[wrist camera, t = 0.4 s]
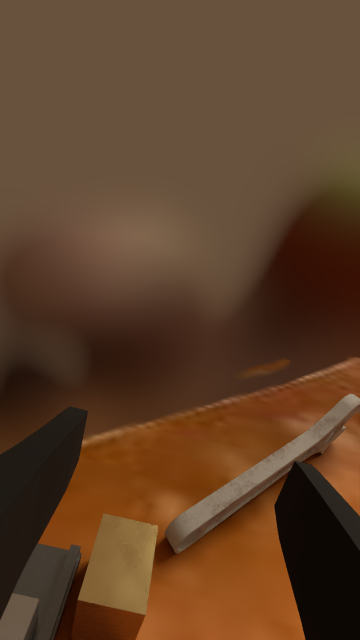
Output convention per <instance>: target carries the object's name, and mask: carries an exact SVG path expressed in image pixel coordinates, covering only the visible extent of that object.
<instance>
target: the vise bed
mask: <svg viewBox="0 0 360 640" xmlns="http://www.w3.org/2000/svg"><path fill="white" fill-rule="evenodd" d="M80 547H81V546H76V545H71V547H70V550H65V549H60V548H56V547H51V546H47V545H42V544H38V543H37V545H36V547H35V549H34V551H33V552H32V554H31V556H30V558H29V560H28V562H27V564H26V566H25V568H24V570H23V572H22V574H21V576H20V578H19V580H18V582H17V584H16V586H15V589H14V591H13V593H14V594H19V595H23V596H28V597H32V598H37V599H39V612H38V625H37V628H36V631H35V633H34V636H33V639H32V640H55V637H56V634H57V631H58V628H59V625H60V622H61V619H62V616H63V613H64V609H65V606H66V603H67V600H68V597H69V594H70V591H71V588H72V585H73V582H74V579H75V576H76V573H77V570H78V566H79V563H80V559H81V553H80Z"/></svg>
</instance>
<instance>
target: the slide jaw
mask: <svg viewBox="0 0 360 640" xmlns="http://www.w3.org/2000/svg"><path fill="white" fill-rule="evenodd" d="M38 612H39V599H37V598H32V597H28V596H23V595H19V594H14V593H12V595H11V598H10V600H9V602H8V604H7V607H6V609H5V611H4V613H3V616H2V618H1V620H0V640H32V639H33V636H34V633H35V631H36V628H37V625H38Z"/></svg>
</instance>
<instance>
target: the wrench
mask: <svg viewBox="0 0 360 640" xmlns="http://www.w3.org/2000/svg"><path fill="white" fill-rule="evenodd" d="M358 412H360V399H359V398H358V397H356V396H355V395H354V394H349V395H347V396H346V397H344V398H343V399H342V400H341V401H340V402H339V403H338V404H336V405H335V406H334V407H333V408H332V409H331V410H330V411H329V412H328V413H327V414H326V415H325V416H324V417H322V418H321V419H320V420H319V421H318V422H317V423H315V424H314V425H313V426H312V427H311V428H310V429H308V430H307V431H306V432H305V433H303V434H302V435H300V436H299V437H297V438H296V439H294V440H293V441H291V442H289V443H288V444H286V445H285V446H283V447H282V448H280V449H279V450H277V451H276V452H274V453H273V454H271V455H270V456H268V457H267V458H265V459H264V460H262V461H261V462H259V463H258V464H256V465H255V466H253V467H252V468H250V469H249V470H247V471H246V472H244V473H242V474H241V475H239V476H238V477H236V478H235V479H233V480H232V481H230V482H229V483H227V484H226V485H224V486H223V487H221V488H220V489H218V490H217V491H215V492H214V493H212V494H211V495H209V496H208V497H206V498H205V499H203V500H202V501H200V502H199V503H197V504H196V505H194V506H192V507H191V508H189V509H188V510H186V511H185V512H183V513H182V514H180V515H179V516H178V517H177V518H175V519H174V520H173V521H172V522H171V523H170V524H169V526H168V527H167V529H166V531H165V536H166V537H167V539H168V541H169V543H170V544H171V546H172V548H173V550H174V552H175V553H180V552H181V551H183V550H184V549H186V548H187V547H188V546H190V545H191V544H193V543H194V542H196V541H197V540H198V539H200V538H201V537H203V536H204V535H205V534H207V533H208V532H209V531H210V530H212V529H213V528H214V527H216V526H217V525H218V524H220V523H221V522H222V521H224V520H225V519H226V518H228V517H229V516H230V515H232V514H233V513H234V512H236V511H237V510H238V509H240V508H241V507H242V506H244V505H245V504H246V503H248V502H249V501H250V500H252V499H253V498H254V497H256V496H257V495H258V494H260V493H261V492H262V491H264V490H265V489H266V488H268V487H269V486H270V485H272V484H273V483H274V482H276V481H277V480H278V479H280V478H281V477H282V476H284V475H285V474H286V473H288V472H289V471H290V470H291V468H292V465H293V463H294V461H298V462H303V461H304V460H305V459H307V458H308V457H309V456H311V455H313V454H315V453H320V454H323V453H324V452H325V450H326V449H327V448H328V446H329V445H330V444H331V442H333V441H334V440H335V439H336V438H337V437H338V436H339V435H340V434H341V433H342V432H343V431H344V430H345V429H346V428H345V427H344V425H345V423H346V422H347V421H348V420H349V419H350V418H351V417H352V416H353V415H354V414H355V413H358Z"/></svg>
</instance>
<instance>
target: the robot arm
mask: <svg viewBox="0 0 360 640" xmlns="http://www.w3.org/2000/svg"><path fill="white" fill-rule="evenodd" d="M87 413H88V411H86V410H82V409H78V408H73V407H69V408H67V409H65V410H64V411H63V412H61V413H60V414H59V415H58V416H56V417H55V418H54V419H52V420H51V421H50V422H48V423H47V424H45V425H44V426H43V427H41V428H40V429H39V430H37V431H36V432H34V433H33V434H31V435H30V436H29V437H27V438H26V439H24V440H23V441H21V442H20V443H19V444H17V445H15V446H14V447H12V448H10V449H9V450H7V451H6V452H4V453H2V454H1V455H0V620H1V618H2V616H3V613H4V611H5V609H6V607H7V604H8V602H9V600H10V598H11V595H12V593H13V591H14V589H15V586H16V584H17V582H18V580H19V578H20V576H21V574H22V572H23V570H24V568H25V566H26V564H27V562H28V560H29V558H30V556H31V554H32V552H33V551H34V549H35V547H36V545H37V543H38V541H39V539H40V538H41V536H42V534H43V532H44V530H45V528H46V527H47V525H48V523H49V521H50V519H51V517H52V515H53V514H54V512H55V510H56V508H57V506H58V504H59V502H60V501H61V499H62V497H63V495H64V493H65V491H66V489H67V487H68V485H69V482H70V480H71V477H72V475H73V473H74V470H75V468H76V465H77V463H78V460H79V456H80V450H81V445H82V440H83V434H84V429H85V424H86V419H87ZM274 506H275V514H276V522H277V528H278V535H279V540H280V544H281V548H282V552H283V556H284V559H285V563H286V567H287V571H288V574H289V578H290V582H291V585H292V589H293V593H294V597H295V600H296V604H297V608H298V611H299V615H300V619H301V622H302V627H303V631H304V635H305V639H306V640H360V516H359V515H358V514H357V513H356V512H355V511H354V509H353V508H352V507H351V506H350V505H349V504H348V503H347V502H346V501H345V500H344V498H343V497H342V496H341V495H340V494H339V493H338V492H337V491H336V490H335V489H334V487H333V486H332V485H331V484H330V483H329V482H328V481H327V480H326V479H325V478H324V477H323V476H322V475H321V473H320V472H319V471H318V470H317V469H316V468H315V467H314V466H312V465H310V464H306V463H302V462H298V461H294V463H293V465H292V468H291V470H290V472H289V474H288V477H287V479H286V481H285V483H284V485H283V488H282V490H281V492H280V494H279V496H278V499H277V501H276V503H275V505H274Z"/></svg>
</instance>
